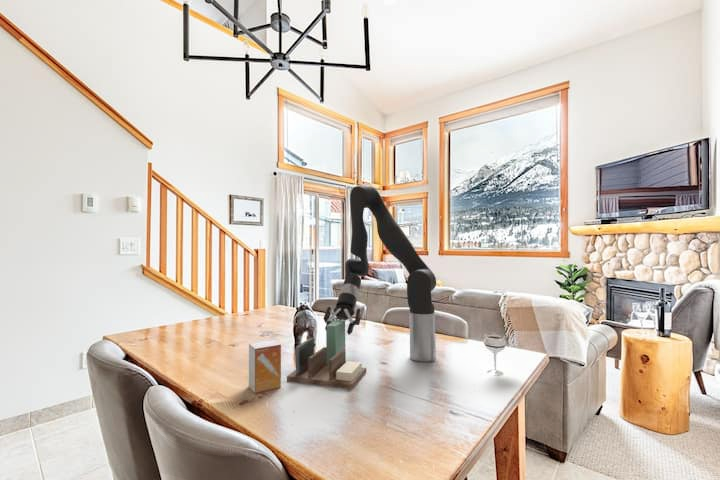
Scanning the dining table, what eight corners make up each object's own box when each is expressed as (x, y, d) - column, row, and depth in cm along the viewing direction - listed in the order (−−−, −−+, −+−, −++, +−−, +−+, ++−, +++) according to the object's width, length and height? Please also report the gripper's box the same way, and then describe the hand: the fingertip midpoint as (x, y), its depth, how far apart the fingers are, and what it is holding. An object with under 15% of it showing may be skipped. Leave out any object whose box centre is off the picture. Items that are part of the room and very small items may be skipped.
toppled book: (361, 369, 113) (361, 362, 113) (351, 381, 103) (351, 373, 103) (347, 368, 114) (347, 361, 114) (336, 379, 105) (336, 371, 105)
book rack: (366, 372, 114) (366, 349, 115) (352, 389, 101) (352, 363, 101) (306, 366, 121) (306, 344, 121) (286, 380, 108) (286, 357, 108)
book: (345, 357, 131) (345, 320, 131) (335, 366, 121) (335, 326, 121) (336, 356, 132) (336, 319, 132) (326, 365, 122) (326, 325, 122)
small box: (254, 394, 99) (254, 348, 99) (248, 386, 104) (248, 343, 104) (281, 387, 103) (281, 344, 103) (274, 380, 108) (274, 339, 109)
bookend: (314, 364, 119) (314, 338, 119) (299, 375, 108) (299, 347, 108) (311, 363, 119) (311, 337, 119) (295, 375, 109) (295, 346, 109)
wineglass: (505, 370, 115) (505, 334, 116) (507, 377, 109) (506, 339, 109) (484, 368, 118) (483, 332, 118) (484, 375, 111) (484, 338, 111)
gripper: (329, 291, 139) (317, 325, 128) (362, 292, 135) (353, 328, 124) (334, 302, 144) (323, 336, 133) (366, 303, 140) (358, 339, 129)
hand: (337, 332), depth 128 cm, fingers open, 8 cm apart
